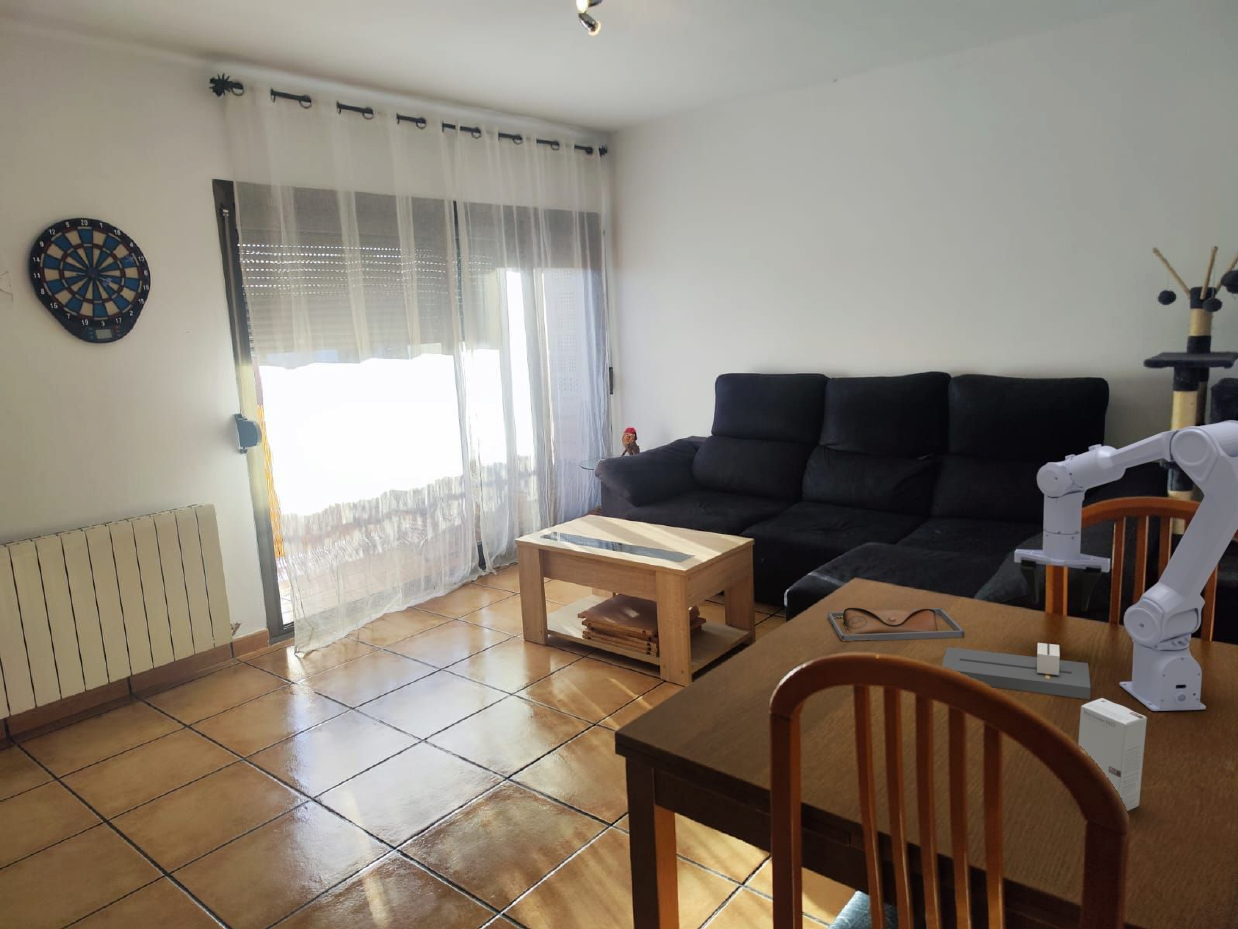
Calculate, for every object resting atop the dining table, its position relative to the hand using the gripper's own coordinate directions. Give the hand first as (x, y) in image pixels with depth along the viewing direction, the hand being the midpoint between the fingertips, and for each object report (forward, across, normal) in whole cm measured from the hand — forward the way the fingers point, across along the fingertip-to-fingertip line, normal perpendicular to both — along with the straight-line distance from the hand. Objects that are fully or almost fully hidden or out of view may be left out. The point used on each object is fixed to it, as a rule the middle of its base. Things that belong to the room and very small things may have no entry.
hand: (1059, 606), depth 146 cm
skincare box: (+10, +13, -44) cm, 47 cm away
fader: (+7, 0, -11) cm, 13 cm away
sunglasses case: (+10, -29, 0) cm, 31 cm away
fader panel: (+9, -5, -12) cm, 16 cm away
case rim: (+9, -29, +1) cm, 31 cm away
